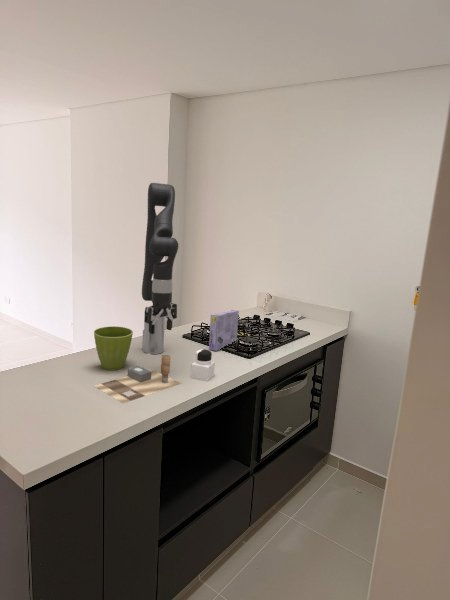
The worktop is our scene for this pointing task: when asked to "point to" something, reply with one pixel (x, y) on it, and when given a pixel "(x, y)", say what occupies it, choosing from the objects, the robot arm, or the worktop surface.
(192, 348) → the worktop surface
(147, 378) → the block
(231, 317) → the cake pan box
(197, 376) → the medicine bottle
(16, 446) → the worktop surface
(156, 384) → the subfloor panel
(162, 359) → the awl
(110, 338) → the flower pot
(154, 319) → the robot arm
